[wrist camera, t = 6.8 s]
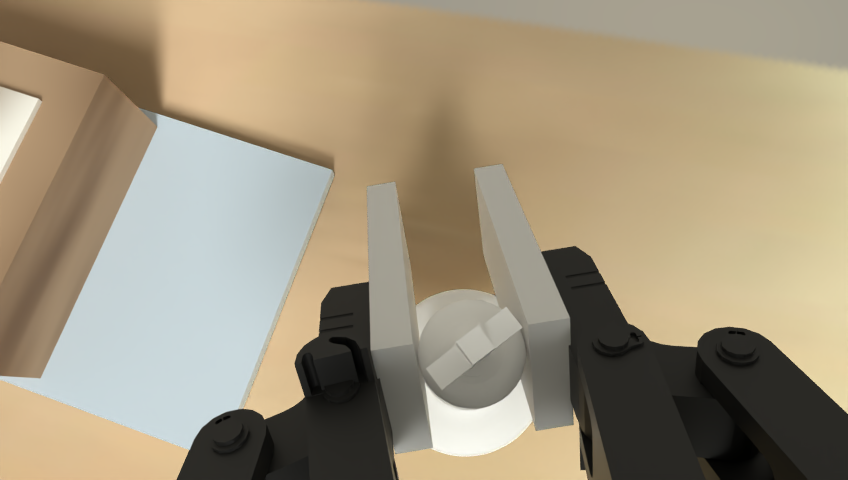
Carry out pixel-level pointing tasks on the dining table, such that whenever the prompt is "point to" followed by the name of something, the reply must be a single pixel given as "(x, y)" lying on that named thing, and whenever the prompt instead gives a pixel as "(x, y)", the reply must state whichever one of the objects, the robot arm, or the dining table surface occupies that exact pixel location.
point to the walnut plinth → (56, 193)
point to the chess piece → (472, 372)
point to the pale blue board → (186, 284)
